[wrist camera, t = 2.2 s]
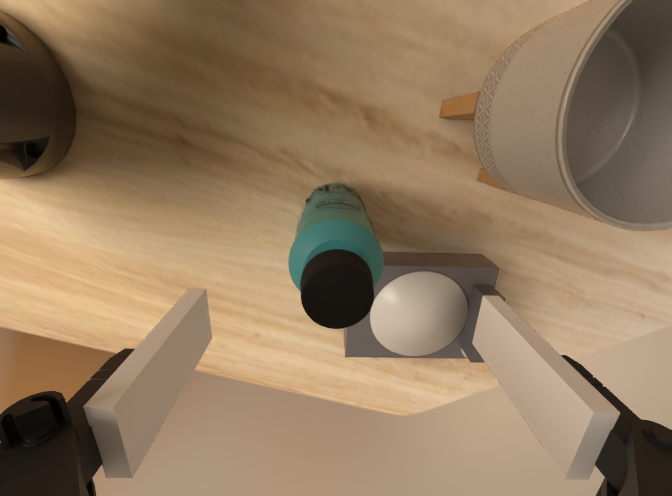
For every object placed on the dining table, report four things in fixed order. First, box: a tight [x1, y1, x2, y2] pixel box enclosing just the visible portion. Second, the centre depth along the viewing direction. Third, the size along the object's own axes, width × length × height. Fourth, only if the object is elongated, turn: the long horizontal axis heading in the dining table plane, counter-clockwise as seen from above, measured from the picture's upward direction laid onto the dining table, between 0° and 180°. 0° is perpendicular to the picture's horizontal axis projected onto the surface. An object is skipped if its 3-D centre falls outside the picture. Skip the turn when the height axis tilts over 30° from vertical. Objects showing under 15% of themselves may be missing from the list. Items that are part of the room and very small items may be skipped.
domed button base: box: [344, 252, 505, 363], centre depth 36 cm, size 16×12×7 cm
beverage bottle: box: [289, 183, 384, 329], centre depth 25 cm, size 6×7×20 cm
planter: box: [439, 0, 672, 231], centre depth 23 cm, size 13×13×18 cm
